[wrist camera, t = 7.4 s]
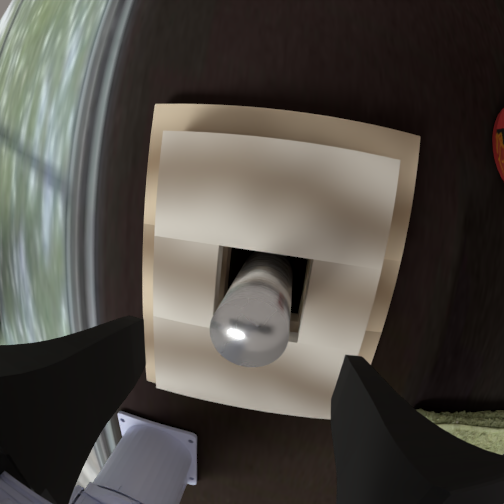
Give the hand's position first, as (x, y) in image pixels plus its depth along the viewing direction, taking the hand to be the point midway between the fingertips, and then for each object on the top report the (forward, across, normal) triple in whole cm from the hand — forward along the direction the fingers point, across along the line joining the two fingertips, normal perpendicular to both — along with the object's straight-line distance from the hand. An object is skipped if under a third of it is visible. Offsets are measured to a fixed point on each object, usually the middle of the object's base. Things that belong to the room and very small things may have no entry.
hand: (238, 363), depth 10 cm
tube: (+10, 0, 0) cm, 10 cm away
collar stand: (+10, 0, 0) cm, 10 cm away
